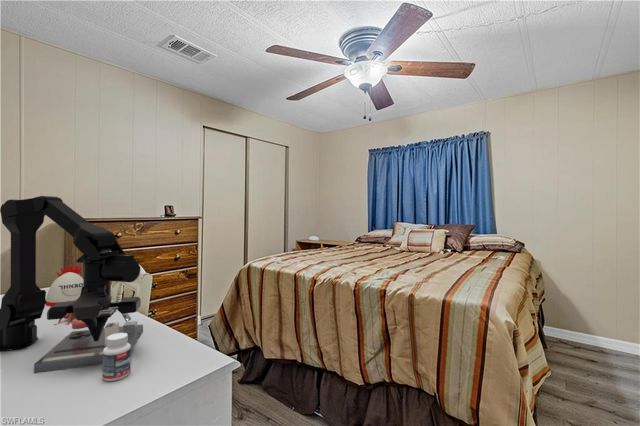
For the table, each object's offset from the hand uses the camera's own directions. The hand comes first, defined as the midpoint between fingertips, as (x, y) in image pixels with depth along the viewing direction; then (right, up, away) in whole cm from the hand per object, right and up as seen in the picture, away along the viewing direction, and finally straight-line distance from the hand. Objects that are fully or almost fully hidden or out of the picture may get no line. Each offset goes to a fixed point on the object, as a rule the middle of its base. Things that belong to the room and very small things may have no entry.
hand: (96, 340), depth 78 cm
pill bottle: (+12, -4, -10) cm, 16 cm away
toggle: (+1, +1, +11) cm, 11 cm away
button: (-10, +1, +7) cm, 12 cm away
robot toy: (-27, -4, +28) cm, 39 cm away
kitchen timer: (-45, -3, +46) cm, 64 cm away
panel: (-3, -4, +3) cm, 6 cm away
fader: (+3, -1, +1) cm, 3 cm away
